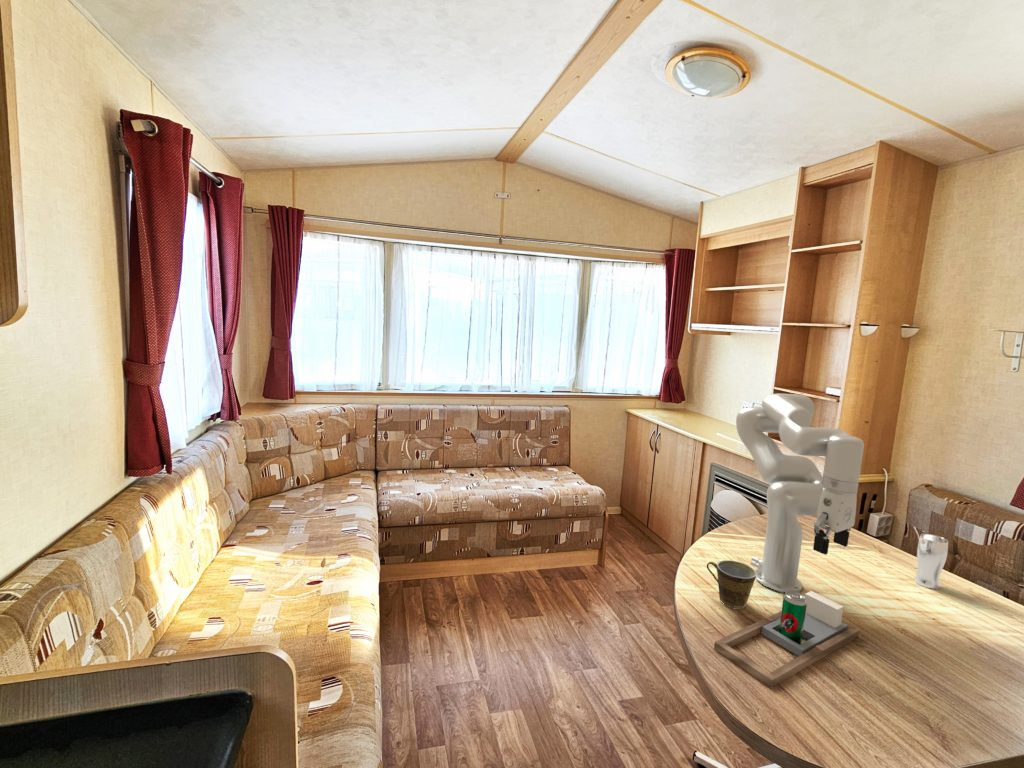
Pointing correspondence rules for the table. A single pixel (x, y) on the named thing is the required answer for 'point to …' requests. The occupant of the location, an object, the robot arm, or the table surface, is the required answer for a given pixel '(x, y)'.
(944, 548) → the beer glass
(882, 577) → the table surface
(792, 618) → the soda can
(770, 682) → the track
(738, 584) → the ceramic cup
